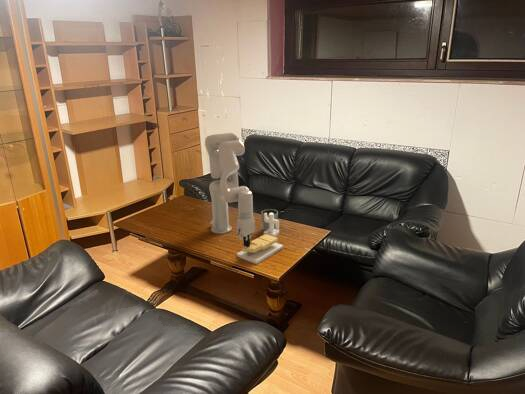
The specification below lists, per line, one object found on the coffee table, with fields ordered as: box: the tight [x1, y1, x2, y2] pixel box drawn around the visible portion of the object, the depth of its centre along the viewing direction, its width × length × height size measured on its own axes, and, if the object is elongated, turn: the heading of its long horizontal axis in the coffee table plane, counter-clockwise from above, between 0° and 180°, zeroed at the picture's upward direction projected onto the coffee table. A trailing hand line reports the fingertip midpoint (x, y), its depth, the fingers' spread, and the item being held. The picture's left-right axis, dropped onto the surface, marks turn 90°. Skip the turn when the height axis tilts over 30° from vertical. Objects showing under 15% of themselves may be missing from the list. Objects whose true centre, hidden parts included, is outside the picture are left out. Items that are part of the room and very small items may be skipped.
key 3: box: [241, 244, 262, 253], centre depth 207 cm, size 9×6×2 cm, turn 50°
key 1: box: [258, 233, 279, 245], centre depth 217 cm, size 9×6×2 cm, turn 50°
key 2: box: [250, 237, 270, 249], centre depth 212 cm, size 9×6×2 cm, turn 50°
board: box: [236, 242, 285, 265], centre depth 213 cm, size 14×23×4 cm, turn 140°
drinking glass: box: [260, 208, 279, 232], centre depth 238 cm, size 10×10×12 cm
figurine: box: [263, 213, 280, 237], centre depth 228 cm, size 7×9×15 cm
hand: (246, 245), depth 209 cm, fingers closed
